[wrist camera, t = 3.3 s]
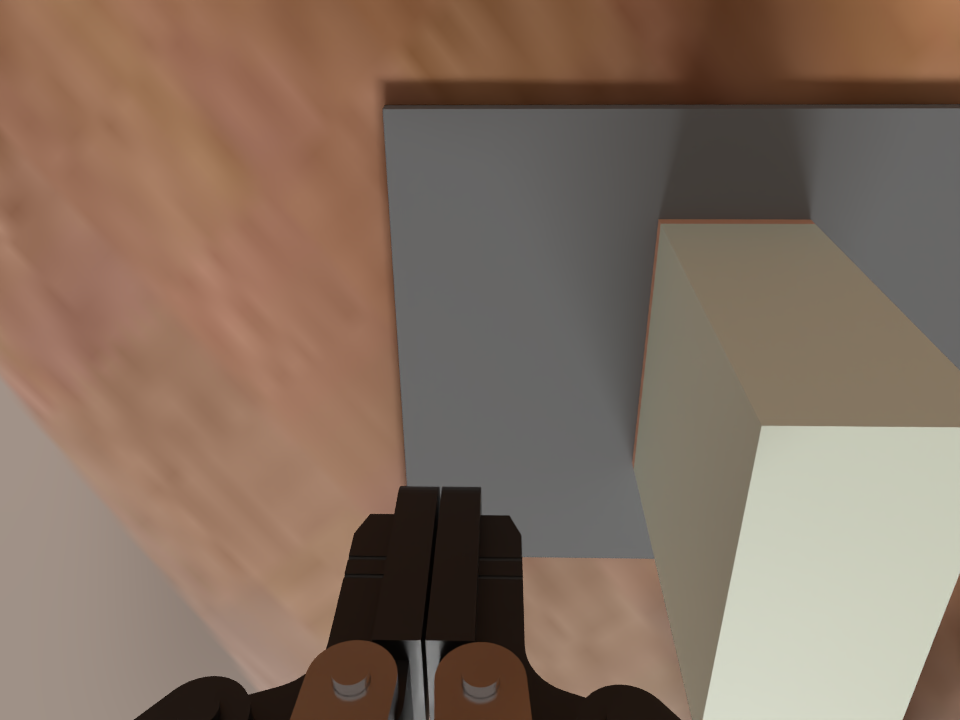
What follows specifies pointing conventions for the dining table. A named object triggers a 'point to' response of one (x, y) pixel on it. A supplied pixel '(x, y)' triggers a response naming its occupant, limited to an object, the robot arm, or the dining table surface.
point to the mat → (619, 274)
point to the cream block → (793, 474)
